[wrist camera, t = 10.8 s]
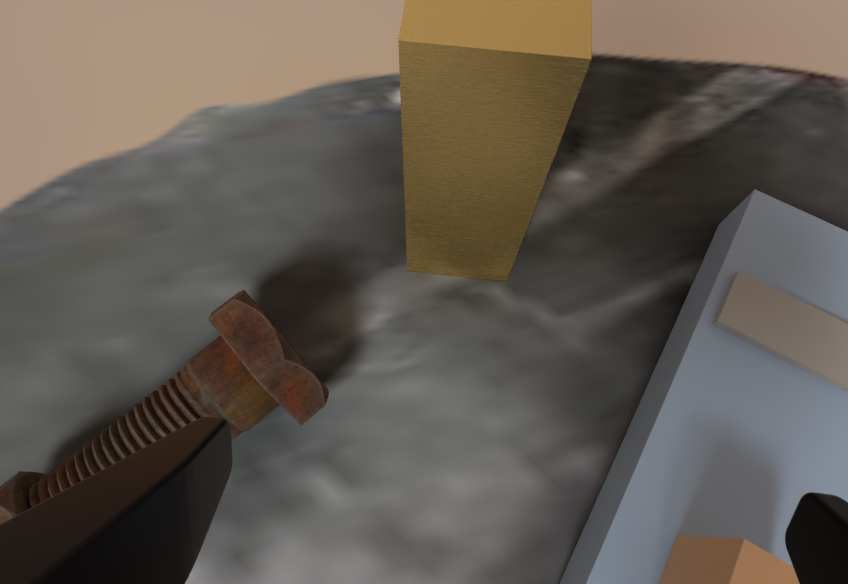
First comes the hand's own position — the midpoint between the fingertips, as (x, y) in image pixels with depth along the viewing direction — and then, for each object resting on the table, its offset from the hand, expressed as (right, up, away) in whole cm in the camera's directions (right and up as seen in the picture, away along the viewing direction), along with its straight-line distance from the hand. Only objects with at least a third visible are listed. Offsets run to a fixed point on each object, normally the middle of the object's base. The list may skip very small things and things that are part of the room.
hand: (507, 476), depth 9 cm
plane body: (+11, -3, +14) cm, 18 cm away
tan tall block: (0, +5, +17) cm, 18 cm away
